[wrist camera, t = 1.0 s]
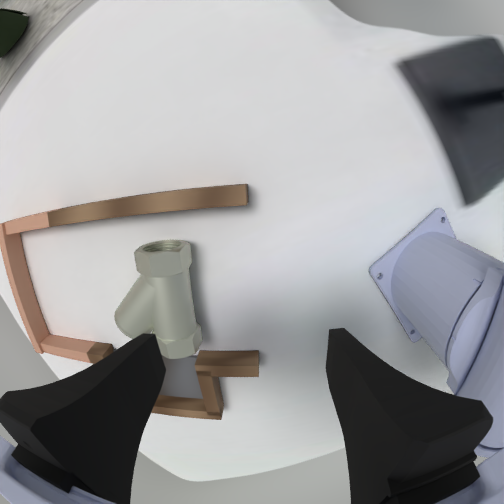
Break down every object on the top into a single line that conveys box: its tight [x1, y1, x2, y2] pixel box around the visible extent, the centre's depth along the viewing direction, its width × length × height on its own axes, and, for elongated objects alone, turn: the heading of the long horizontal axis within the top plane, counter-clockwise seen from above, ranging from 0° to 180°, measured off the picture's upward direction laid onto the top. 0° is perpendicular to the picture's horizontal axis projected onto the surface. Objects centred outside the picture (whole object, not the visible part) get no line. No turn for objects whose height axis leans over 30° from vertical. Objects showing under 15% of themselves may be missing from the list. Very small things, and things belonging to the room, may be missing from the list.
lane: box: [47, 184, 259, 420], centre depth 20 cm, size 16×20×2 cm
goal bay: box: [0, 209, 96, 363], centre depth 20 cm, size 9×14×2 cm, turn 4°
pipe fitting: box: [114, 240, 202, 359], centre depth 19 cm, size 8×4×7 cm
